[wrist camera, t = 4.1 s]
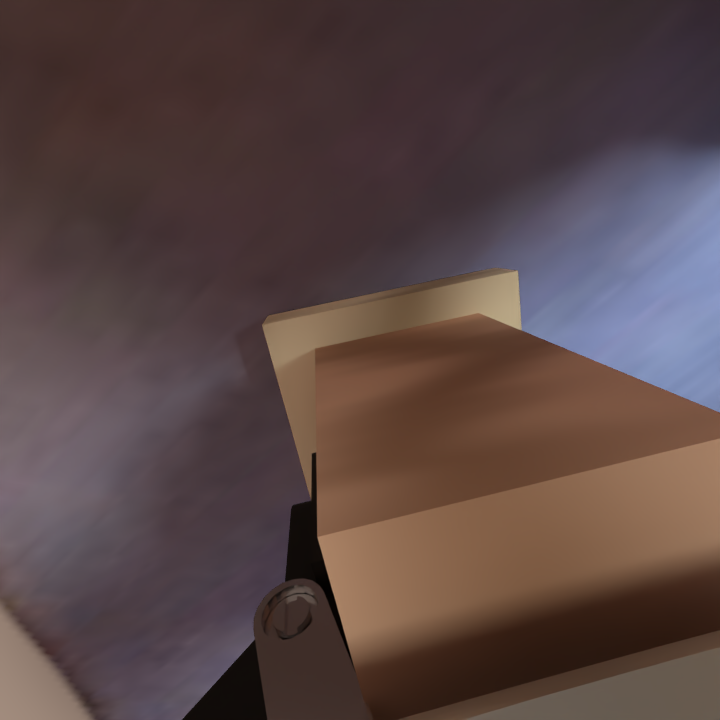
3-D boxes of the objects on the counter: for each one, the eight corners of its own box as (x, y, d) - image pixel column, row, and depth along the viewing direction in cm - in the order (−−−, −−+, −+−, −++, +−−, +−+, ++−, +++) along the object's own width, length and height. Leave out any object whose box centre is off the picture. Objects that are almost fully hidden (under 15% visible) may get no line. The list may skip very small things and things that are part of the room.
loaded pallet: (494, 267, 12) (886, 317, 4) (513, 511, 16) (757, 836, 7) (268, 315, 12) (158, 486, 4) (333, 556, 15) (358, 957, 7)
